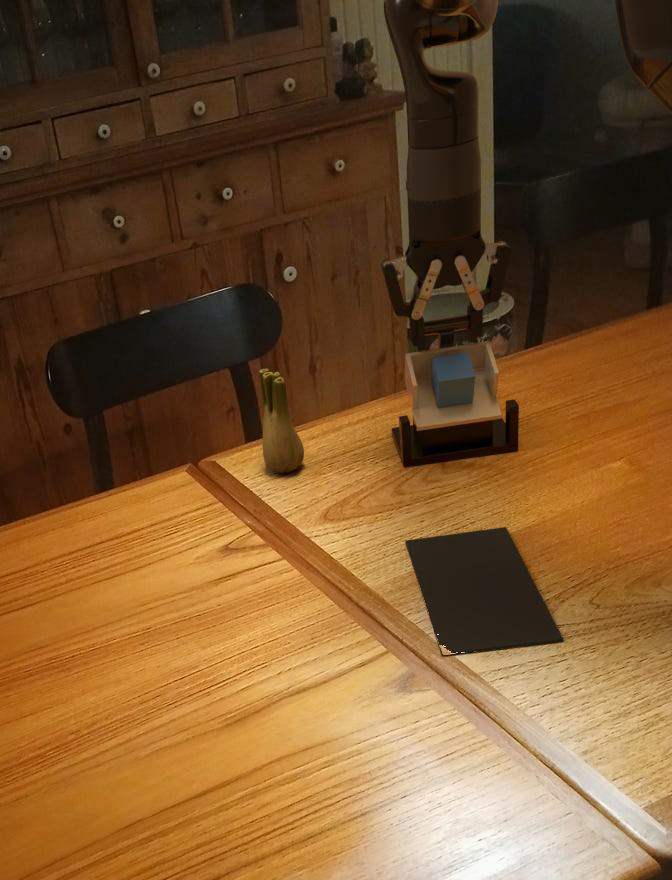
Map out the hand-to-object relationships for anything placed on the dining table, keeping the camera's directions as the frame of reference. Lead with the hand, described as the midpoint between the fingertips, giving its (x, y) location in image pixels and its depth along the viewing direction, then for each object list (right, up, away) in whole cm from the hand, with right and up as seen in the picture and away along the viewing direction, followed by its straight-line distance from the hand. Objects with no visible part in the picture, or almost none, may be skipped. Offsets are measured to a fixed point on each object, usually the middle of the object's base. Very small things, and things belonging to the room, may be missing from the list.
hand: (446, 343), depth 113 cm
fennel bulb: (-18, -13, +6) cm, 23 cm away
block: (+1, -6, 0) cm, 6 cm away
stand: (+2, -11, +4) cm, 12 cm away
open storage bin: (+1, -5, +1) cm, 5 cm away
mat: (-3, -29, -22) cm, 37 cm away
